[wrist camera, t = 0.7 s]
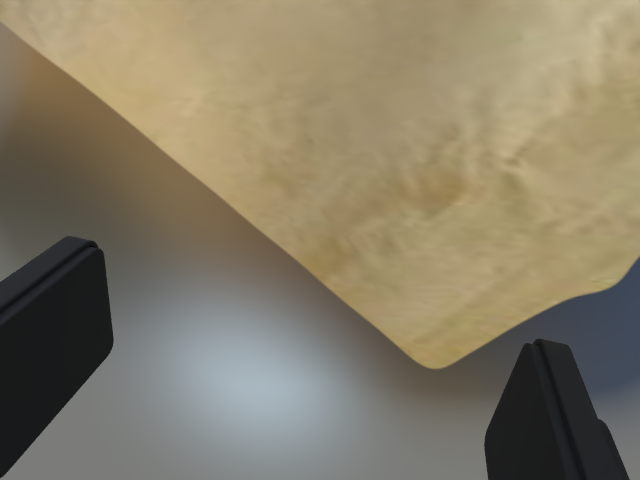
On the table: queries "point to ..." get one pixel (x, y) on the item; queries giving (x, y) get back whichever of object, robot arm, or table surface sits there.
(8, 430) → the robot arm
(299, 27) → the table surface
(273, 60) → the table surface
